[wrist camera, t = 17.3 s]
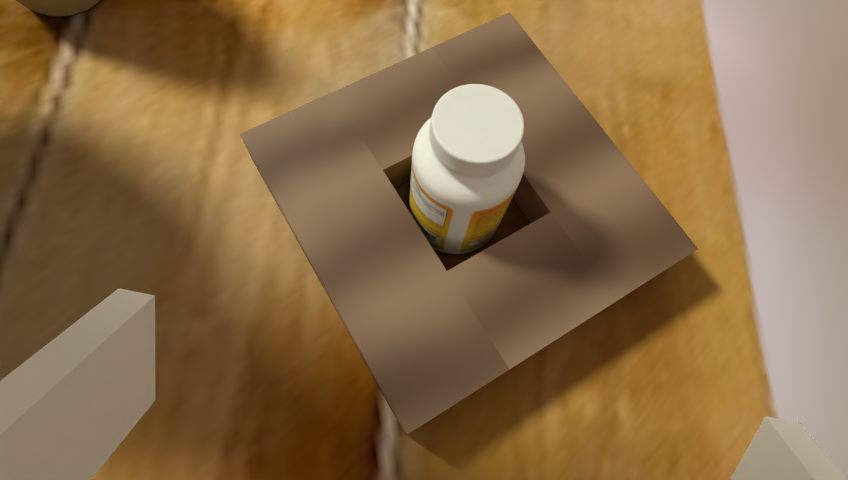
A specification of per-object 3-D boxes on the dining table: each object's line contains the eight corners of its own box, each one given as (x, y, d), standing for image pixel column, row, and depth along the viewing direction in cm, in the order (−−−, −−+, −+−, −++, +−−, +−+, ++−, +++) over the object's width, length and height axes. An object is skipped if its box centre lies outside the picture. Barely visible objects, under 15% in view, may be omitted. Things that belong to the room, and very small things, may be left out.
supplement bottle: (501, 179, 32) (544, 77, 23) (495, 262, 31) (539, 186, 21) (414, 167, 32) (422, 60, 23) (402, 249, 31) (406, 168, 21)
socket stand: (253, 160, 32) (240, 134, 29) (500, 45, 36) (509, 12, 33) (405, 434, 27) (407, 434, 24) (670, 265, 31) (698, 248, 28)
